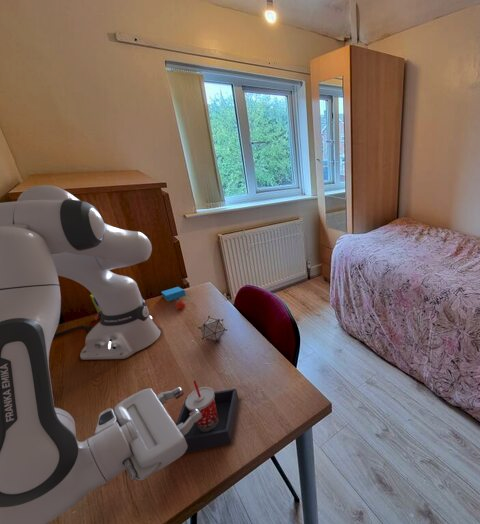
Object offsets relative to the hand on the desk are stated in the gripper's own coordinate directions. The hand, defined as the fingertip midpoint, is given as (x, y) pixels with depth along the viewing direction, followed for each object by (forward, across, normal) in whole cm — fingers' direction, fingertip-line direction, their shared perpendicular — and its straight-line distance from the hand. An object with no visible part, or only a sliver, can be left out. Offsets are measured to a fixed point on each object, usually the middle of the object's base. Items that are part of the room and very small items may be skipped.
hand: (190, 400), depth 65 cm
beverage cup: (+2, 0, +10) cm, 10 cm away
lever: (+20, +69, +10) cm, 72 cm away
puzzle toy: (+1, +77, +10) cm, 78 cm away
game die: (+19, +31, +10) cm, 38 cm away
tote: (+2, 0, +10) cm, 11 cm away
